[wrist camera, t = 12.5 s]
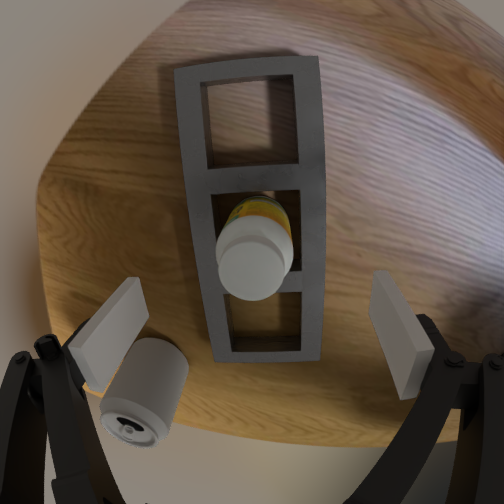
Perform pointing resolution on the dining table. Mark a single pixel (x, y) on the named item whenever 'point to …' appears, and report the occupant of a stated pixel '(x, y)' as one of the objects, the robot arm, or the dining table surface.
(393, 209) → the dining table surface
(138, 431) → the can
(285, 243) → the supplement bottle
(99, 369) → the robot arm
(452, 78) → the dining table surface
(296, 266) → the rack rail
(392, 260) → the dining table surface
